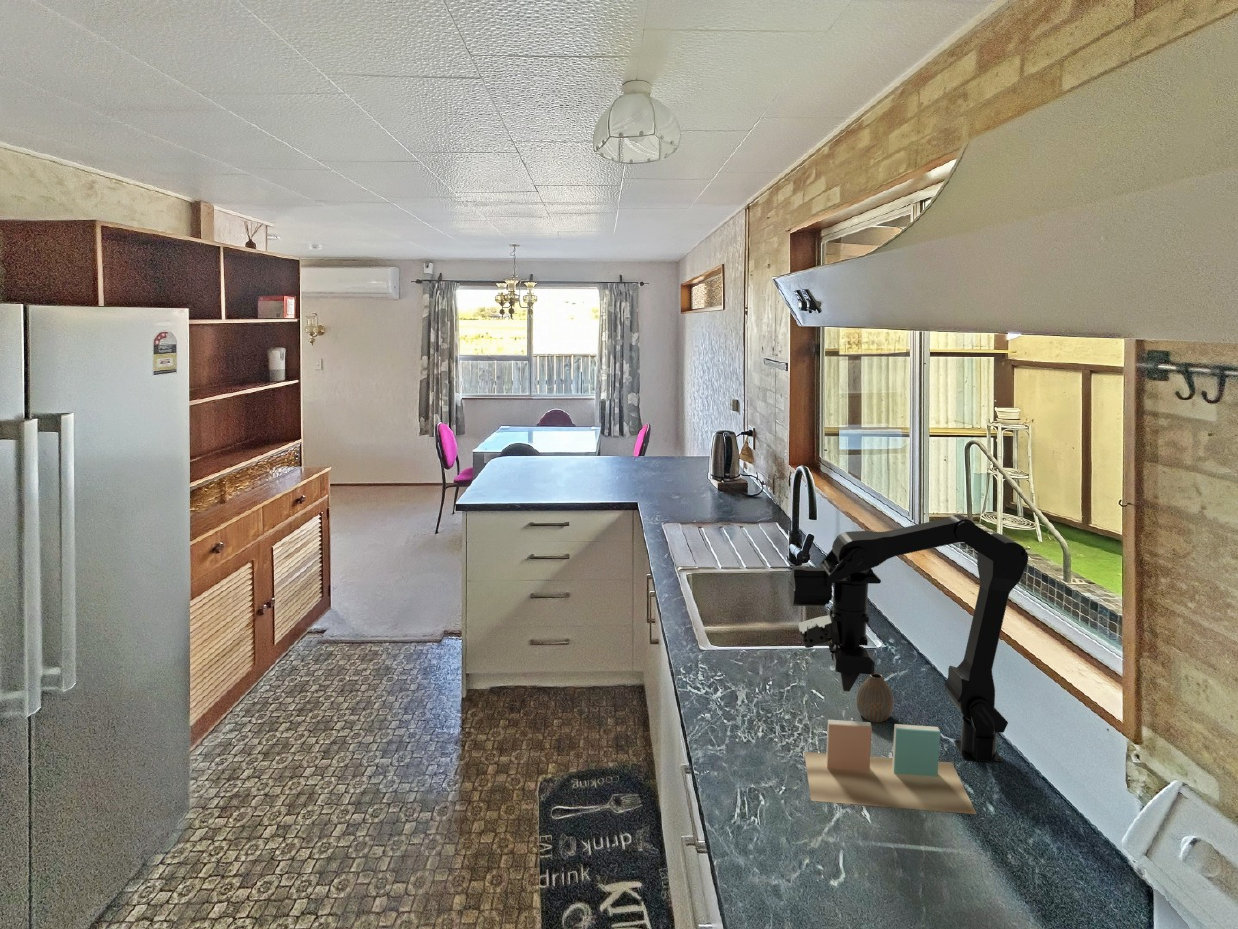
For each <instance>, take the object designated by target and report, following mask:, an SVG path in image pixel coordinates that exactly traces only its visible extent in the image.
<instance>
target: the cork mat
mask: <svg viewBox="0 0 1238 929" xmlns="http://www.w3.org/2000/svg"><path fill="white" fill-rule="evenodd" d="M803 753H804V754H803V755H804V760H805V766H806V767H805V768H806V775H807V781H808V788H809V794H810V801H811V802H820V803H822V802H823V803H832V804H833V803H834V804H835V803H836V804H844V805H845V804H846V805H856V806H857V805H859V806H869V807H883V808H892V809H903V810H904V809H908V810H915V811H917V810H918V811H930V812H942V813H955V814H965V815H966V814H967V815H977V812H976V810H975V807H974V805H973V803H972V801H971V799H970V797H969V795H968V794H967V791H966V789H965V787H964V785H963V783H962V781H961V778H960V776H959V775H958V772H957V770H956V768H955V766H954V764H953V763H952V762H950V761H949V762H948V761H938V776H924V775H911V774H897V773H894V772H893V769H892V760H893V757H880V756H870V771H858V770H844V769H831V768H827V765H826V753H827V752H824V753H823V752H811V751H810V752H809V751H804V752H803Z"/></svg>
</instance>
